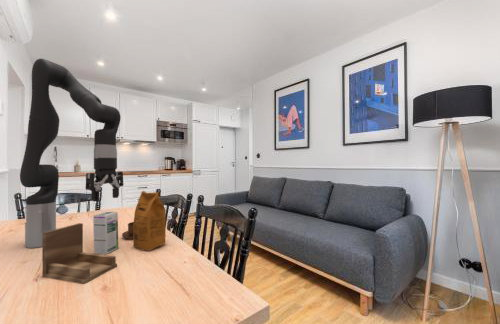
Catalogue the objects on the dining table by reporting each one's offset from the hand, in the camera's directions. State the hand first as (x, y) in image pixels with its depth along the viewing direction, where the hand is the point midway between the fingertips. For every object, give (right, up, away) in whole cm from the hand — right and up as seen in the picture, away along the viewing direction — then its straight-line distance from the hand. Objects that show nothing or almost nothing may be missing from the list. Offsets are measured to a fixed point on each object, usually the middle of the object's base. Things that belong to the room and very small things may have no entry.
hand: (106, 199), depth 87 cm
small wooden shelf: (+3, -20, -16) cm, 26 cm away
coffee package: (+14, -20, +5) cm, 25 cm away
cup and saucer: (+3, -20, +18) cm, 27 cm away
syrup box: (0, -20, 0) cm, 20 cm away
